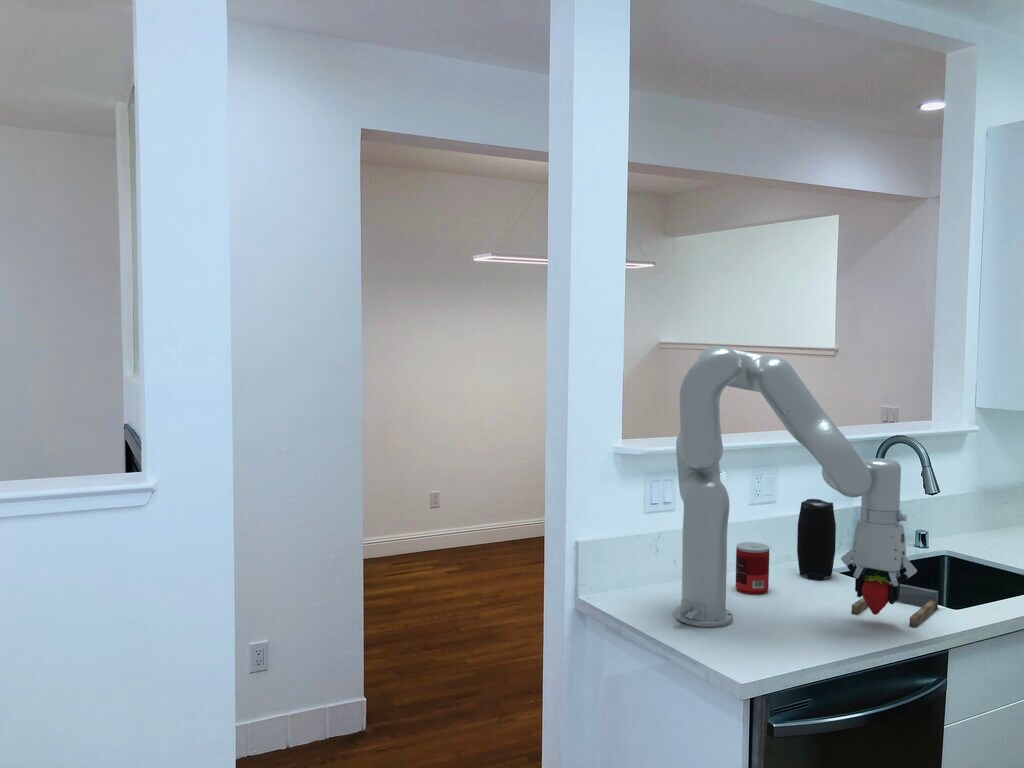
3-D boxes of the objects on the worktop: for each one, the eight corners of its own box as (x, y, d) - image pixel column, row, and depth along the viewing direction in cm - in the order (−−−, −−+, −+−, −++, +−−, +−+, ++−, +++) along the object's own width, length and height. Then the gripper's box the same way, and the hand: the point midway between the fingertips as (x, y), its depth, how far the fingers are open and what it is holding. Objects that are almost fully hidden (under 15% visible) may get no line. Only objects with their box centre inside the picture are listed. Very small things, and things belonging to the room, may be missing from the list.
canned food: (773, 589, 203) (774, 545, 202) (760, 597, 197) (761, 551, 196) (744, 583, 208) (745, 540, 207) (730, 590, 202) (730, 546, 201)
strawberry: (897, 614, 179) (898, 568, 178) (882, 622, 174) (884, 575, 173) (869, 607, 183) (871, 562, 183) (854, 615, 178) (856, 569, 177)
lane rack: (915, 627, 177) (915, 609, 177) (851, 613, 186) (851, 596, 185) (937, 608, 189) (938, 591, 189) (876, 595, 198) (877, 579, 198)
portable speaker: (841, 578, 212) (843, 503, 211) (812, 582, 209) (814, 506, 207) (817, 569, 220) (820, 497, 219) (789, 573, 217) (791, 499, 215)
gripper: (928, 520, 174) (924, 603, 175) (845, 507, 186) (842, 586, 187) (917, 526, 169) (914, 612, 170) (832, 513, 180) (830, 594, 181)
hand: (876, 598), depth 178 cm, fingers closed on strawberry, 5 cm apart
